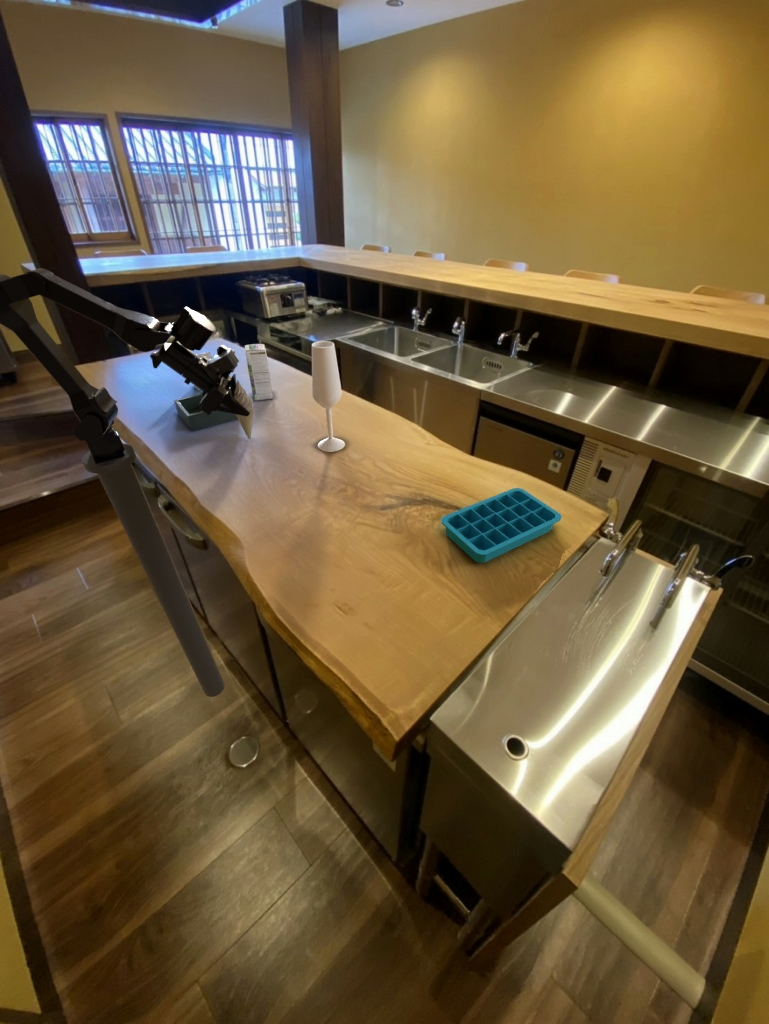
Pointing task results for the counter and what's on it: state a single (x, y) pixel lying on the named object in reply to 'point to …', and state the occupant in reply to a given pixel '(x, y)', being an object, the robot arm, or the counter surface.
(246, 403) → the ice cream cone
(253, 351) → the syrup box
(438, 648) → the counter surface
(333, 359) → the champagne flute
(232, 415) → the bin
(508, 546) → the ice cube tray
